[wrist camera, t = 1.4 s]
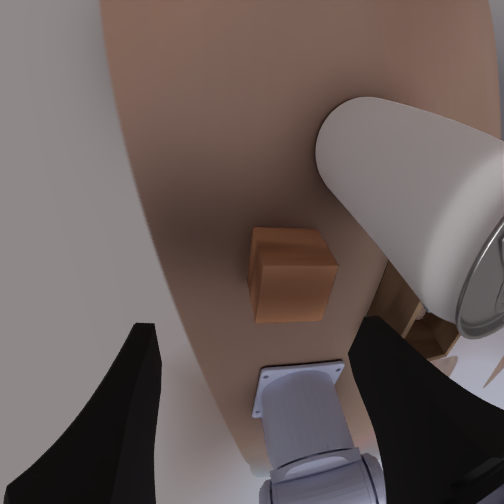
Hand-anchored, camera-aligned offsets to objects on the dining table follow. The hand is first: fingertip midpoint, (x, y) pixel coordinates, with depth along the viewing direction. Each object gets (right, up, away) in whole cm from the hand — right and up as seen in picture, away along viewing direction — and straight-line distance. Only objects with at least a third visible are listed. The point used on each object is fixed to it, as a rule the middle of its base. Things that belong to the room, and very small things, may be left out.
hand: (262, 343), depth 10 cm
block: (+1, +3, +10) cm, 10 cm away
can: (+6, +9, +6) cm, 13 cm away
